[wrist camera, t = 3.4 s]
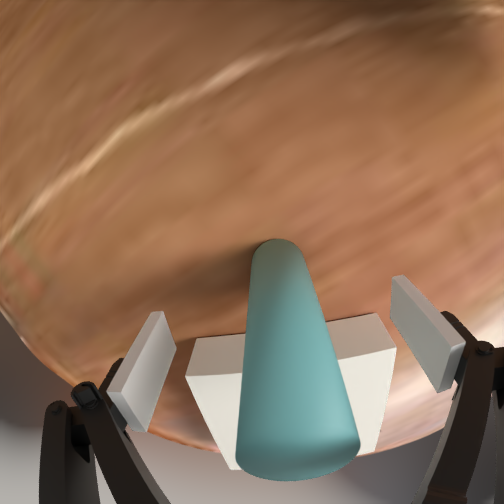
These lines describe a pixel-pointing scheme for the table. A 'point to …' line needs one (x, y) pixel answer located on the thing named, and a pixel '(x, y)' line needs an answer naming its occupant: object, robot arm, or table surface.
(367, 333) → the socket board
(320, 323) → the peg
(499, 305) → the table surface
